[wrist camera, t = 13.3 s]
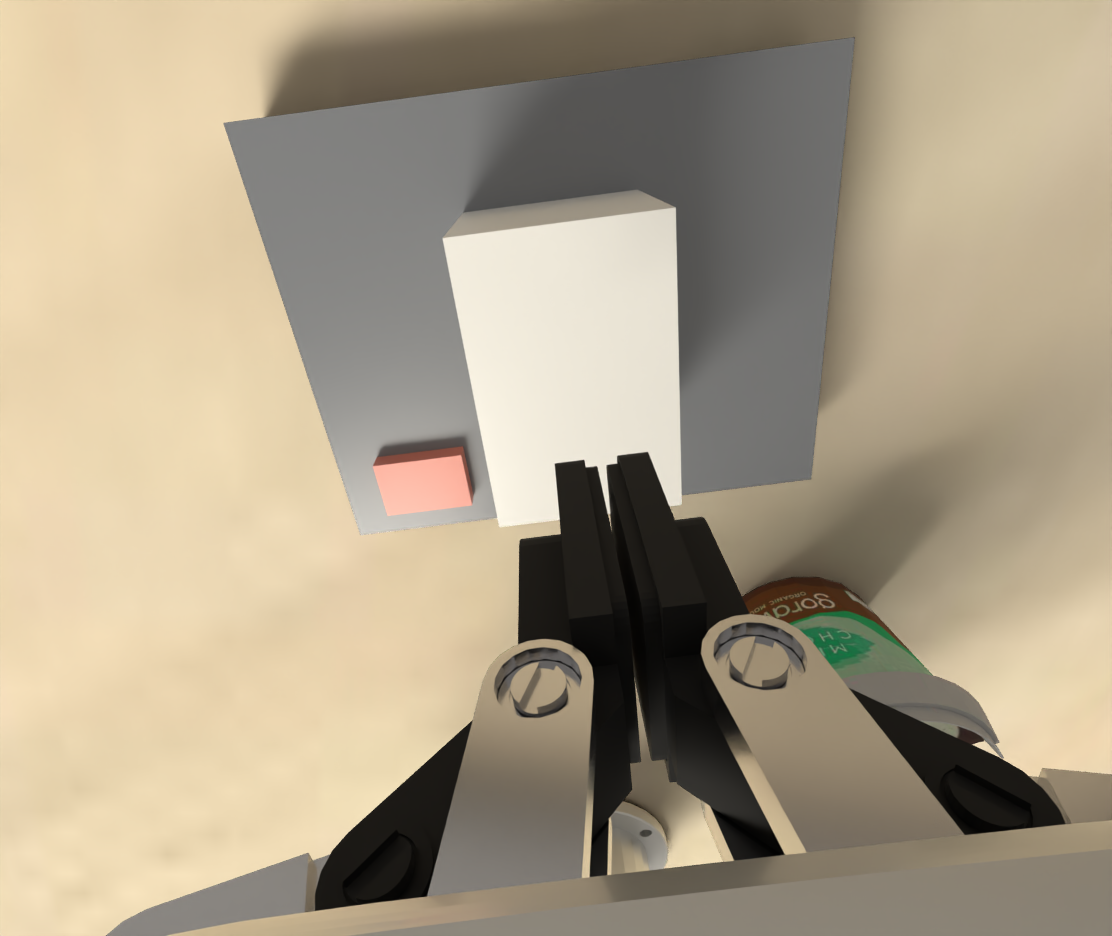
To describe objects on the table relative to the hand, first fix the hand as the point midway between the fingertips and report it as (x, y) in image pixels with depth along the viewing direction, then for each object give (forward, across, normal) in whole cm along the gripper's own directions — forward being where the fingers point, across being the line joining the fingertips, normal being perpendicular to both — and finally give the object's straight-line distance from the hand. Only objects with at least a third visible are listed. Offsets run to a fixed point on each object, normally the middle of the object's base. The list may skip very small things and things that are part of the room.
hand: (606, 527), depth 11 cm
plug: (+16, 0, 0) cm, 16 cm away
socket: (+17, 0, 0) cm, 17 cm away
